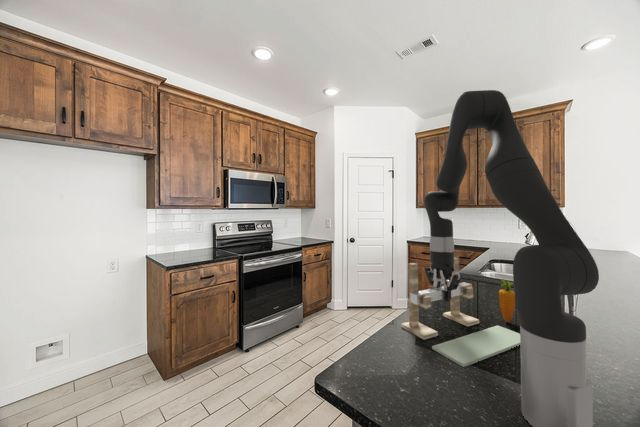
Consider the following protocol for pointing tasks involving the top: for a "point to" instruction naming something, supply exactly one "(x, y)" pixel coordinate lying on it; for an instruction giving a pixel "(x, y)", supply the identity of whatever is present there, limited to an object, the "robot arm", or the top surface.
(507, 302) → the carrot
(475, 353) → the mat
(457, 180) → the robot arm
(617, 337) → the top surface
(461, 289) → the rail
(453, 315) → the hook stands
